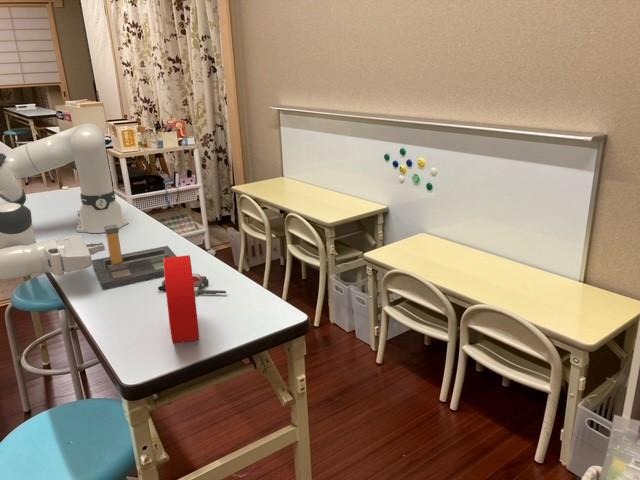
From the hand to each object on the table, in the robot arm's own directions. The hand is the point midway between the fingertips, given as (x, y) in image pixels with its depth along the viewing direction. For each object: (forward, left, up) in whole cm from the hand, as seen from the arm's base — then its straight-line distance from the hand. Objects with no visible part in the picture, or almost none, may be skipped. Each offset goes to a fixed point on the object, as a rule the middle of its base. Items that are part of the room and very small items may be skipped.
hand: (103, 246), depth 150 cm
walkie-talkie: (+23, +20, -10) cm, 32 cm away
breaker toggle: (-1, +3, -7) cm, 8 cm away
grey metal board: (-1, +9, -10) cm, 13 cm away
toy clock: (+46, +10, -10) cm, 48 cm away
